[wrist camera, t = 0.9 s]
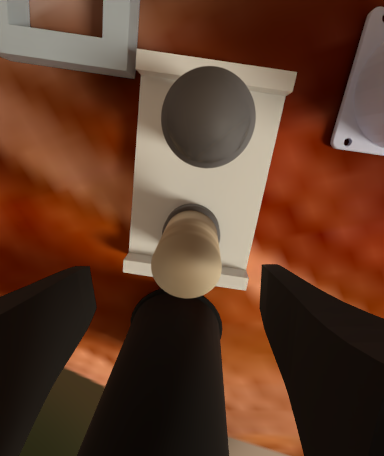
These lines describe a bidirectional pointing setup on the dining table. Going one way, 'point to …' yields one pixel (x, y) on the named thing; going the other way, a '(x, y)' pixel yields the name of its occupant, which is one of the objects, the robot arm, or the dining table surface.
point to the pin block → (73, 40)
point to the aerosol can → (164, 384)
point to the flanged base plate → (201, 177)
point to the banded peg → (188, 252)
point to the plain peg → (208, 117)
